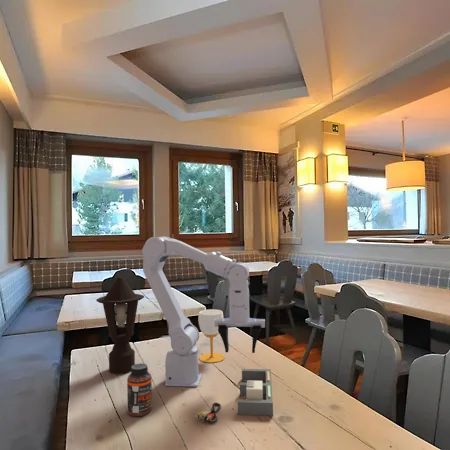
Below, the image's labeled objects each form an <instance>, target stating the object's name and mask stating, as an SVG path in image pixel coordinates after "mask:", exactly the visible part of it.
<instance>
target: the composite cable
mask: <svg viewBox="0 0 450 450" xmlns="http://www.w3.org/2000/svg"><path fill="white" fill-rule="evenodd" d="M215 407H217V408H215ZM215 409H216V410H215ZM221 409H222V405H221V404H220V403H219V402H213V403H212V405H211V410H202V411H199V412H197V414H196V415H195V416H194V419H197V418H202V420H201V424H203V423H205V422H208V423H209V424H210V425H214V424H215V425H216V423H217V422H218V417H217V413H219V411H220V410H221Z"/></svg>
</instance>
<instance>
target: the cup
mask: <svg viewBox="0 0 450 450" xmlns="http://www.w3.org/2000/svg"><path fill="white" fill-rule="evenodd" d="M222 318H224V313H223V311H222V310H221V309H213V308H212V309H211V308H210V309H203V310H200V311H199V312H198V318H197V319H198V320H197V321H198V326H199V329H200V332H201V333H202V335H204V336H205V337H206V338H209V340H210V341H209V342H210V352H209V353H207V352H206V353H204V354H200V356H198V361H200V362H203V363H208V364H215V363H220V362H222V361H224V360H225V358H226V357H225V355H224V354H222V353H218V352H214V345H213V344H214V343H213V342H214V341H213V340H214V338H215V337H217V336H218V335H220V334H219V332H218V327H215V321H214V320H215V319H222Z"/></svg>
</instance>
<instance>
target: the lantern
mask: <svg viewBox="0 0 450 450" xmlns="http://www.w3.org/2000/svg"><path fill="white" fill-rule="evenodd" d="M144 298H145V295H143V294H139V293H135V291H134V290H133V289H132V288H131V286H130V285H129V283H128V281H126V279H125V277H124V276H117V277H116V279H115V281H114V282H113V284H111V287H110V289H109V290H108V292H107V293H106V295H104V296H100V297H99V298H96V299H95V300H96V302H97V303H99V304H102V305H103V307H102V308H103V311H104V316H105V320H106V325H107V329H108V337H109V339H111V341H112V342H113V346H112V348H111V349H112V350H111V351H110V352H108V366H109V367H108V371H109V373H110V374H112V375H123V374H124V375H125V374H128V373H131V367H132V366H133V365H135V364H136V359H135V357H136V354H135V349H133V348H132V346H131V343H130V341H131V339H132V338H131V337H132V336H133V335H135V331H134V329H135V325H136V323H135V322H136V317H137V312H138V306H139V305H138V304H139V301H141V300H142V299H144Z"/></svg>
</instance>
